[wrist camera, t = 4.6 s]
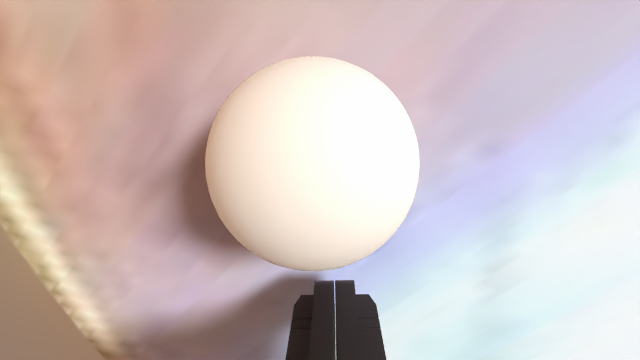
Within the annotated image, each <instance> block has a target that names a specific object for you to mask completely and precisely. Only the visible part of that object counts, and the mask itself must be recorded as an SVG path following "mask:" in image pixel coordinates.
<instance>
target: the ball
mask: <svg viewBox="0 0 640 360" xmlns="http://www.w3.org/2000/svg"><path fill="white" fill-rule="evenodd" d="M419 164H420V161H419V150H418V143H417V139H416V135H415V131H414V128H413V126H412V123H411V121H410V119H409V117H408V115H407V112H406V111H405V109H404V107H403V106H402V104H401V103H400V101H399V100H398V99H397V97H396V96H395V95H394V94H393V93H392V92H391V90H390V89H389V88H388V87H387V86H386V85H385V84H383V83H382V82H381V81H380V80H378V79H377V78H376V77H375V76H373V75H372V74H371V73H369V72H367V71H365V70H364V69H362V68H360V67H358V66H355V65H353V64H350V63H348V62H345V61H342V60H338V59H334V58H328V57H320V56H304V57H296V58H290V59H286V60H282V61H279V62H276V63H274V64H271V65H269V66H267V67H265V68H263V69H261V70H259V71H258V72H256V73H254V74H252V75H251V76H250V77H248V78H247V79H246V80H244V81H243V82H242V83H241V84H240V85H239V86H238V87H237V88H236V89H235V90H234V91H233V92H232V93H231V94H230V95H229V96H228V98H227V99H226V101H225V102H224V104H223V105H222V106H221V108H220V110H219V112H218V113H217V115H216V118H215V120H214V122H213V124H212V127H211V130H210V133H209V137H208V141H207V146H206V154H205V171H206V180H207V185H208V189H209V193H210V198H211V200H212V202H213V205H214V207H215V209H216V211H217V214H218V216H219V217H220V219H221V220H222V222H223V223H224V225H225V226H226V228H227V229H228V230H229V232H230V233H231V234H232V235H233V236H234V237H235V238H236V239H237V240H238V241H239V242H240V243H241V244H242V245H243V246H244V247H246V248H247V249H248V250H250V251H251V252H252V253H254V254H255V255H257V256H259V257H261V258H263V259H265V260H267V261H269V262H271V263H273V264H276V265H279V266H282V267H286V268H290V269H294V270H302V271H322V270H330V269H335V268H340V267H343V266H346V265H349V264H352V263H354V262H356V261H358V260H360V259H363V258H365V257H366V256H368V255H369V254H371V253H372V252H374V251H375V250H376V249H378V248H379V247H381V246H382V245H383V244H384V243H385V242H386V241H387V240H388V239H389V238H390V237H391V236H392V235H393V234H394V233H395V231H396V230H397V229H398V227H399V226H400V225H401V223H402V222H403V220H404V219H405V217H406V215H407V213H408V211H409V209H410V206H411V204H412V202H413V199H414V196H415V192H416V188H417V184H418V177H419Z"/></svg>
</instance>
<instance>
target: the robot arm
mask: <svg viewBox="0 0 640 360" xmlns="http://www.w3.org/2000/svg"><path fill="white" fill-rule="evenodd" d="M335 299H336V351H335V303H334V281H315V285H314V295H301V296H300V298H299V299H298V301H297V302H296V304H295V305H294V310H293V316H292V322H291V330H290V335H289V341H288V348H287V354H286V360H386V355H385V350H384V345H383V339H382V334H381V330H380V323H379V319H378V312H377V307H376V304H375V303H374V301H373V300H372V298H371V297H370V296H369V294H359V295H355V285H354V280H335Z"/></svg>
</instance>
